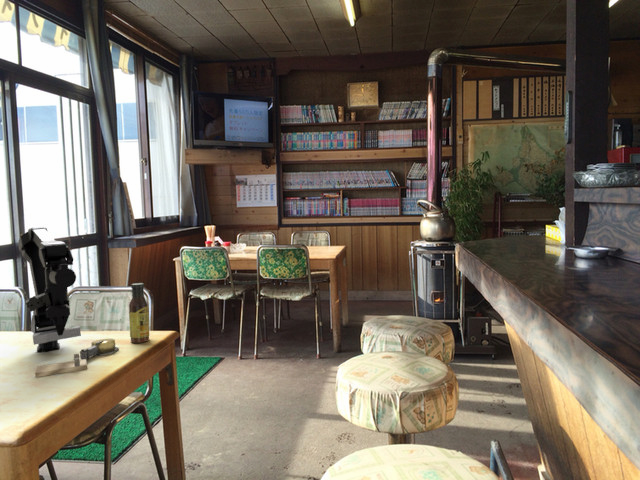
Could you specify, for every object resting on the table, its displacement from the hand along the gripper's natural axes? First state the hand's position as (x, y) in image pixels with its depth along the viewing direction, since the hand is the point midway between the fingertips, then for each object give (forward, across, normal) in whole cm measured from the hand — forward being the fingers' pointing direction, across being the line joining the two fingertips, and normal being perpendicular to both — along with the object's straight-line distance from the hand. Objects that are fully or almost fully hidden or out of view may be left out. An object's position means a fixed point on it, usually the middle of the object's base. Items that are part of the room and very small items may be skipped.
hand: (60, 334), depth 153 cm
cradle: (+8, +12, 0) cm, 14 cm away
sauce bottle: (+8, -7, +24) cm, 26 cm away
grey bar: (+1, 0, 0) cm, 1 cm away
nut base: (+8, -1, +12) cm, 14 cm away
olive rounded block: (+7, +1, +10) cm, 12 cm away
